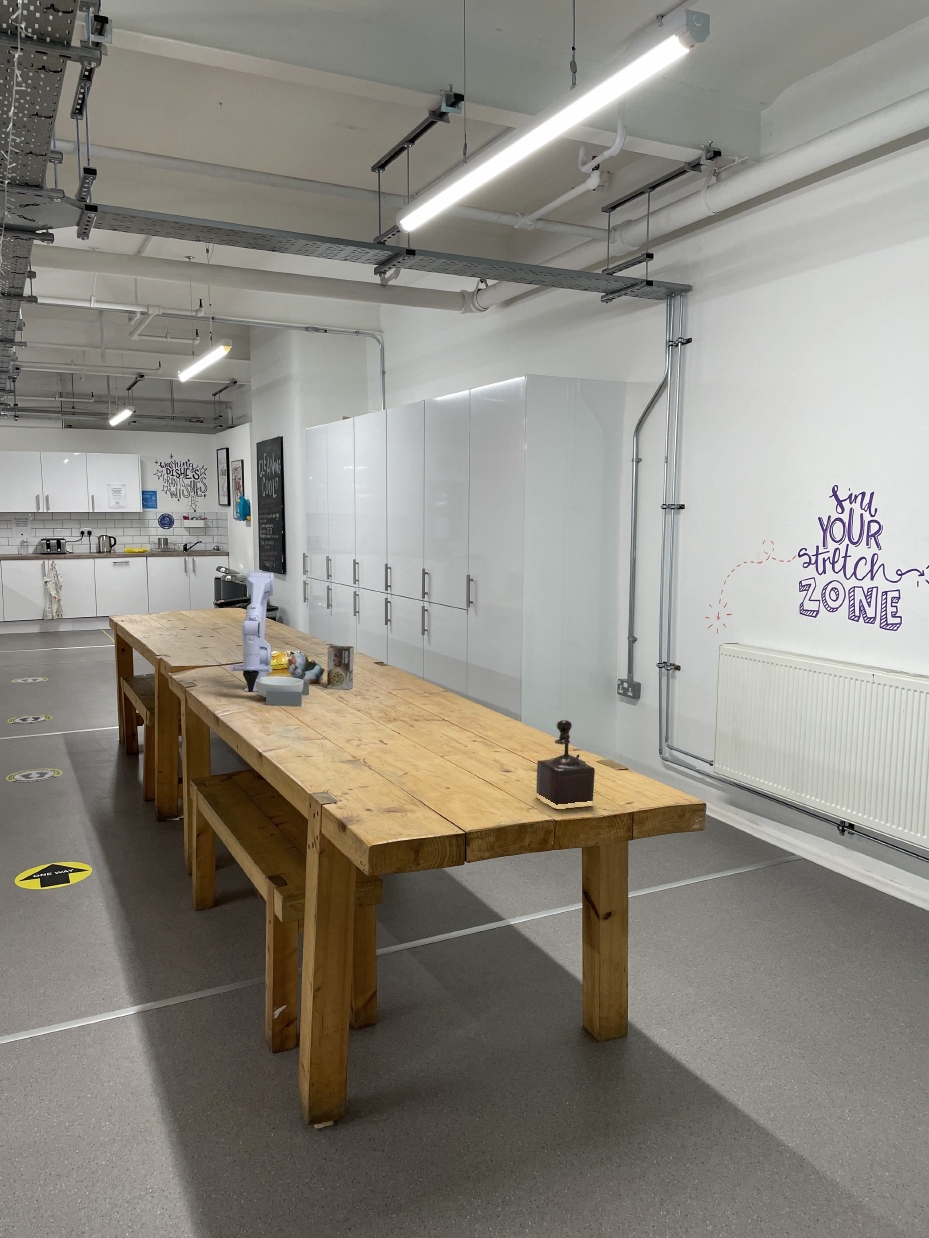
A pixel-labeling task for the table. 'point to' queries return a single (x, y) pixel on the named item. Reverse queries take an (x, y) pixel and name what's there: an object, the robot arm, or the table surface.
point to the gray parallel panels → (287, 696)
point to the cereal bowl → (278, 684)
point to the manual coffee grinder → (565, 774)
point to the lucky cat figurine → (304, 668)
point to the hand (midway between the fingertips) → (250, 691)
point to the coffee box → (340, 667)
